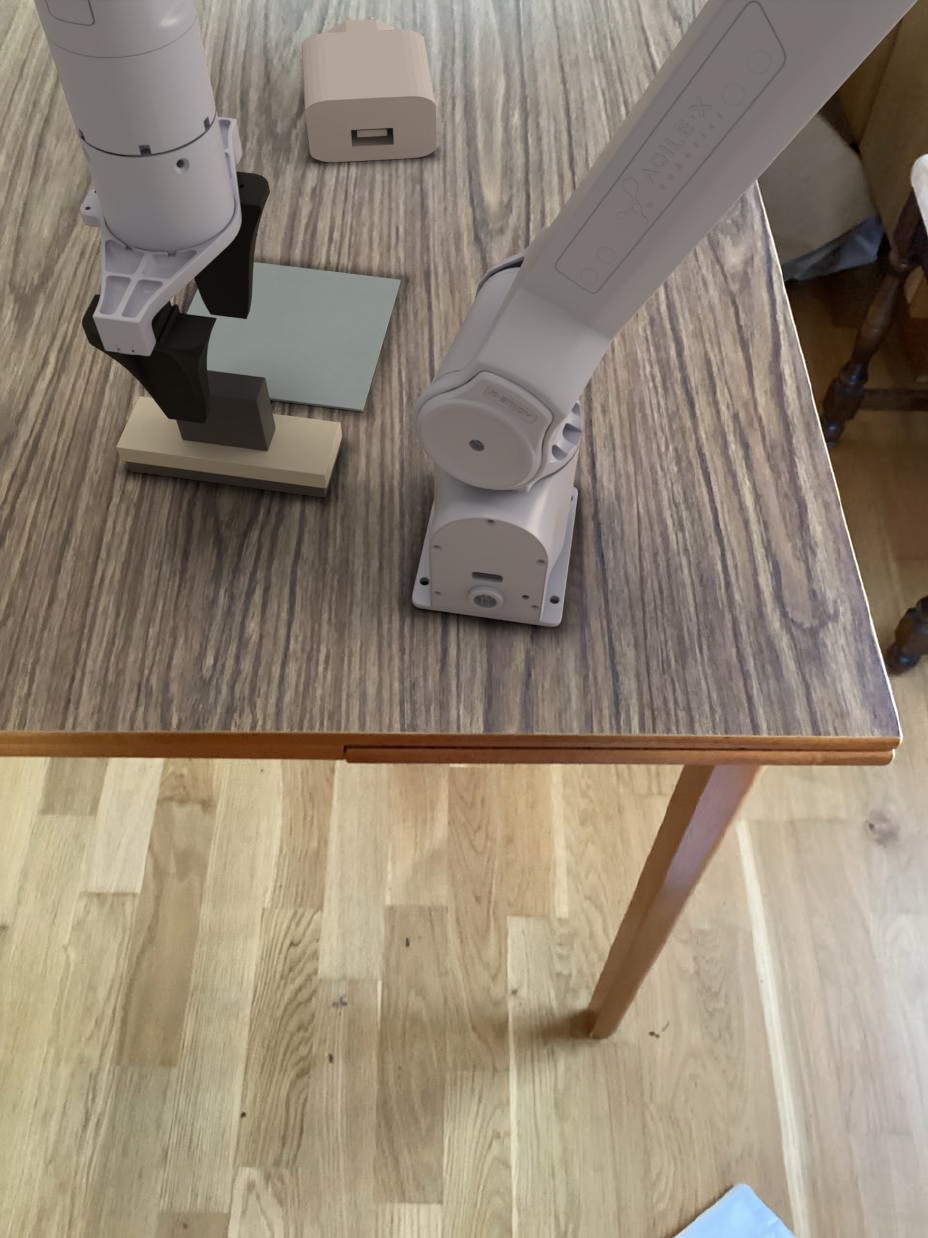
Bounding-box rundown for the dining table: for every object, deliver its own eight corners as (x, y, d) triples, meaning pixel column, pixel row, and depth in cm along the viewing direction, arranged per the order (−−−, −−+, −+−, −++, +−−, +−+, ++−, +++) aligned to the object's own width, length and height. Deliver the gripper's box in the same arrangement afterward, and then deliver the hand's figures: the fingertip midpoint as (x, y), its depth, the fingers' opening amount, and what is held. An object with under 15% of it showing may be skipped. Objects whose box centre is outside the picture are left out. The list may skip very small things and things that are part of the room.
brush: (328, 500, 58) (316, 424, 53) (125, 472, 59) (94, 395, 54) (343, 447, 61) (334, 370, 55) (148, 421, 61) (120, 343, 56)
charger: (418, 46, 84) (436, 157, 76) (305, 52, 83) (311, 163, 75) (417, -15, 80) (435, 95, 72) (298, -10, 79) (303, 101, 71)
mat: (362, 412, 62) (362, 409, 62) (156, 385, 63) (155, 382, 63) (400, 281, 68) (400, 279, 68) (212, 259, 69) (211, 256, 69)
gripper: (112, 13, 46) (178, 262, 58) (-20, 214, 38) (87, 456, 50) (264, 29, 46) (300, 277, 57) (162, 236, 38) (227, 475, 49)
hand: (209, 362), depth 53 cm, fingers open, 7 cm apart
